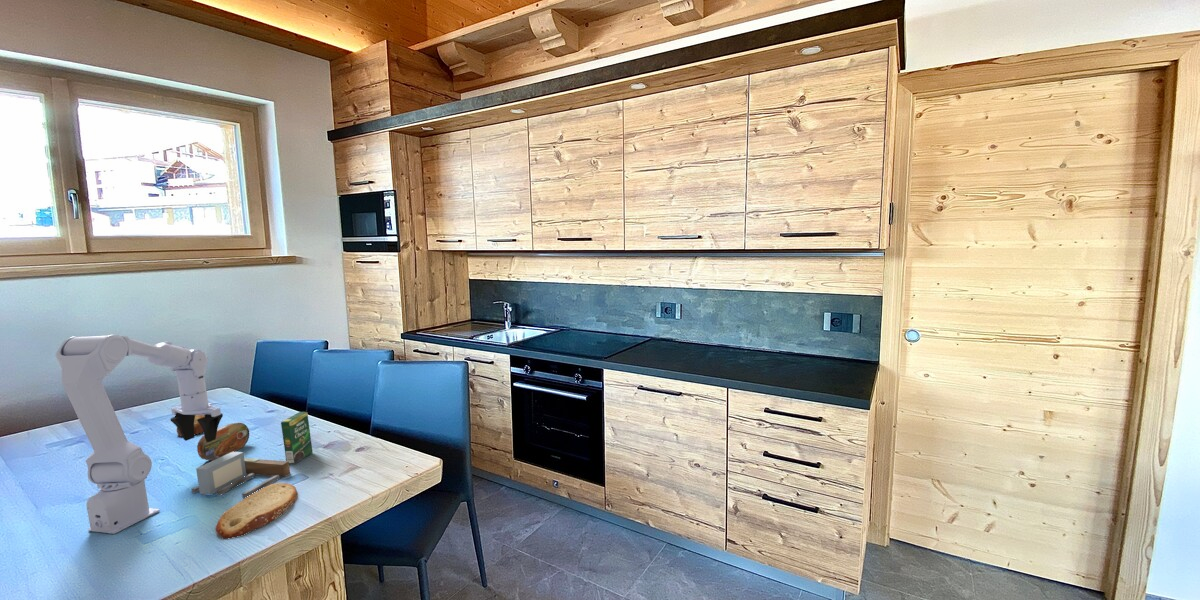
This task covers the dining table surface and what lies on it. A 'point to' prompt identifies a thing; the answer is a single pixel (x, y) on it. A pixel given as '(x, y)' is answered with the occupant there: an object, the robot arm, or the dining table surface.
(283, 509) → the bread slice
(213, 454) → the tin
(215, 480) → the grey rectangular block
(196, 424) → the bread roll
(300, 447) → the coffee box
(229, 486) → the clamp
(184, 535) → the dining table surface
